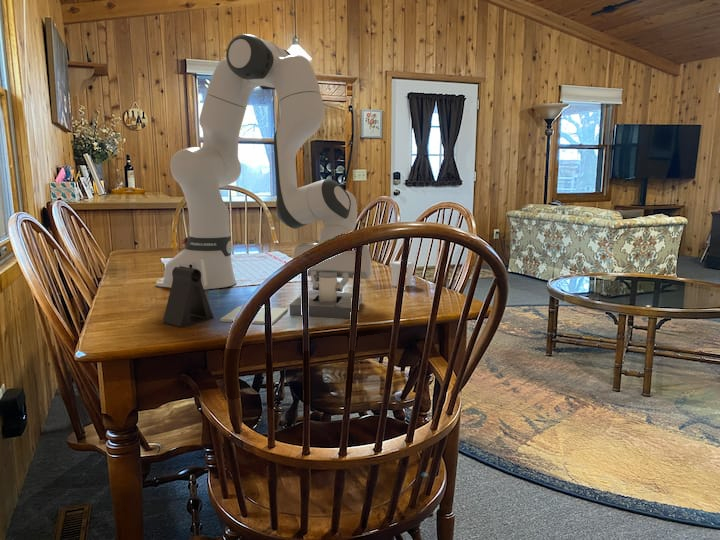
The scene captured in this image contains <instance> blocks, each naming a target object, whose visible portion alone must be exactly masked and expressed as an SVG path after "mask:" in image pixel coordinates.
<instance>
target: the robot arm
mask: <svg viewBox="0 0 720 540" xmlns="http://www.w3.org/2000/svg"><path fill="white" fill-rule="evenodd" d="M218 61H219V62H218V63H217V65H216V67H215V69H214V71H213V73H212V75H211V77H210V79H209V80H210V81H209V82H208V83H209V84H208V86H207V90H206V94H205V97H204V101H203V105H202V107H201V113H200V115H199V118H198V119H199V120H198V121H199V125H200V128H202V129H201V130H202V134H203V135H202V147H199V146H198V147H197V146H190V147H186V148H182V149H180V150H177V152H175V153H174V154H173V156H172V158H171V159H170V162H169V163H170V164H169V168H170V170H169V171H170V173H171V176H172V177H173V179H174V180H175V181H176V182H177V183H178V184H179V186H180V188H181V190H182V193H183V195H184V199H185V202H186V206H187V211H188V212H187V213H188V220H189V221H188V223H189V224H188V225H189V236H186V237H185V238H184V239H181V241H182V242H181V245H183V244H184V249H182V250H181V251H180V252H179V253H177V254H175V256H174V257H173V258H171V259H170V260H169V261H168V262H166V264H165V267H164V270H163V271H164V272H163V277H161V278H159V279H157V280H156V282H155V286H156V287H161V288H169V289H171V286H172V282H173V276H172V271H173V269H174V268H175V267H179V266H181V267H187V268H193V269H198V270H200V272H201V283H202V286H203V289H204V291H205V290H210V289H220V288H228V287H232V286H234V285H236V284H237V279H236V277H235V272H234V269H233V263H232V249H233V248H232V247H233V245H232V236H231V235H230V210H229V208H228V206H227V204H226V203H225V202H224V200H223V196H222V195H221V191H220V188H223V187H227V186H229V185H231V184H233V183H235V182H236V181H237V180H238V179H239V177H240V176H241V174H242V173H241V172H242V165H241V162H240V159H239V139H240V138H239V137H240V131H241V128H242V126H243V125H242V124H243V121H244V117H245V113H246V110H247V107H248V103H249V100H250V96H251V93H252V92H253V90H254V89H256V88H257V87H259V88H260V89H261V90H275V92H276V97H277V101H278V106H279V107H278V108H279V121H278V127H277V129H276V131H275V132H274V134H273V135H274V136H273V150H274V153H273V154H274V165H275V166H274V167H275V179H276V180H275V181H276V202H275V210H276V211H275V212H276V215H277V217H278V219H279V220H280V221H281V222H282V224H284V225H285V226H287V227H289V228H291V229H294V230H295V229H299V228H302V227H304V226H307V225H308V224H312V223H316V222H319V221H320V222H322V224H323V226H322V228H321V230H320V233H319V238H318V240H319V242H318V244H320V243H322V242H324V241H326V240H328V239H331V238H333V237H335V236H338V235H341V234H344V233H347V232H350V231H352V230H354V231H355V229H356V226H357V225H356V224H357V219H358V203H357V199H356V196H355V195H354V194H353V193H352V192H350V191H349V190H346V189H345V188H344V187H343V186H342V185H341V184H340V183H338V182H337V181H335V180H333V179H331V178H326V179H325V178H324V179H321V180H317V181H315V182H311V183H310V184H306V185H303V186H300V187H298V178H297V177H298V175H297V165H296V164H297V163H296V160H297V154H298V152H299V151H300V149H301V147H303V145H304V144H305V143H306V142H307V141H308V140H309V139H310V138H311V137H312V136H314V135H315V134H316V132H318V130H319V129H320V128H321V126H322V123H323V122H324V119H325V106H324V101H323V98H322V93H321V90H320V86H319V81H318V79H317V76H316V73H315V70H314V69H313V66H312V63H311V62H310V61H309V59H308V58H306V57H305V56H303V55H301V54H291V53H290V52H289V51H287V50H286V49H284V48H282V47H280V46H279V45H277V44H275V43H273V42H272V41H268V40H265V39H262V38H259V37H258V36H256V35H253V34H248V33H247V34H246V33H243V34H242V33H241V34H238V35H236V36H234V37H233V38H232V39H231V41H229V43H228V46H227V48H226V55H225V57H224V58H222V59H220V60H218ZM318 244H316V243H306V242H303V243H301V244H298V245H296V246H295V248H294V252H293V257H292V259H293V258H295V257H296V256H298V255H299V254H301V253H303V252H304V251H306V250H308V249H310V248H312V247H314V246H316V245H318ZM354 262H355V250H352V251H349V252H345V253H342V254H340V255H337V256H335V257H333V258H331V259H328V260H326V261H324V262H322V263H320V264H318V265H316V266H314V267H312V268H310V269H309V270H308V276H307V277H310V279H311V282H312V286H311V287H312V291H319V280H318V279H317V277H319V272H323V271H329V272H337V279H341V280H340V282H338V281H337V284H336V285H337V286H336V291H337V292H341V293H343V289H344V287H345V286H346V285H347V284H348V283H349V281H350V279H353V275H354ZM372 270H373V269H372V258H371V252H370V245H366V246H364V247H363V250H362V267H361V279H360V280H369V278H371V277H372ZM298 277H301V276H300V275H299V276H298ZM317 280H318V281H317Z"/></svg>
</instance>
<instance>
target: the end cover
mask: <svg viewBox="0 0 720 540" xmlns="http://www.w3.org/2000/svg"><path fill="white" fill-rule="evenodd" d="M318 281H319V302H335V303H337V291H336V286H337V285H336V284H337V282H338V278H337V272H329V271H323V272H319V279H318Z"/></svg>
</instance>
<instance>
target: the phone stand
mask: <svg viewBox="0 0 720 540" xmlns="http://www.w3.org/2000/svg"><path fill="white" fill-rule="evenodd" d="M172 276H173V282H172V286H171V288H170V290H169V296H168V299H167V304H166V307H165V311H164V315H163V319H162V323H164V324H165V325H171V326H173V327H178V328H180V329H181V328H182V329H183V328H186V327H189V326H194V325H196V324H199V323H203V322H207V321H211V320H213V319H214V315H213V312H212V310H211V307H210V303H209V301H208V297H207V295H206V292H205V290H204V289H203V286H202V283H201V272H200V270H198V269H193V268H187V267H181V266H179V267H175V268H174V269H173V271H172Z"/></svg>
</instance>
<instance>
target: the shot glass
mask: <svg viewBox="0 0 720 540" xmlns="http://www.w3.org/2000/svg"><path fill="white" fill-rule="evenodd" d="M401 261H402V260H393V261H391V262H390V268H391V284H392V286H393V287H395V288H396V287H397V284H398V278H399V273H400V262H401ZM407 261H408V260H407ZM414 263H415V262H413V261H408V267H407V277H406V286H408V285H412V278H413V273H414V272H413V271H414V265H415V264H414ZM406 286H405V287H404V288H407V287H406ZM397 288H398V287H397Z"/></svg>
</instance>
